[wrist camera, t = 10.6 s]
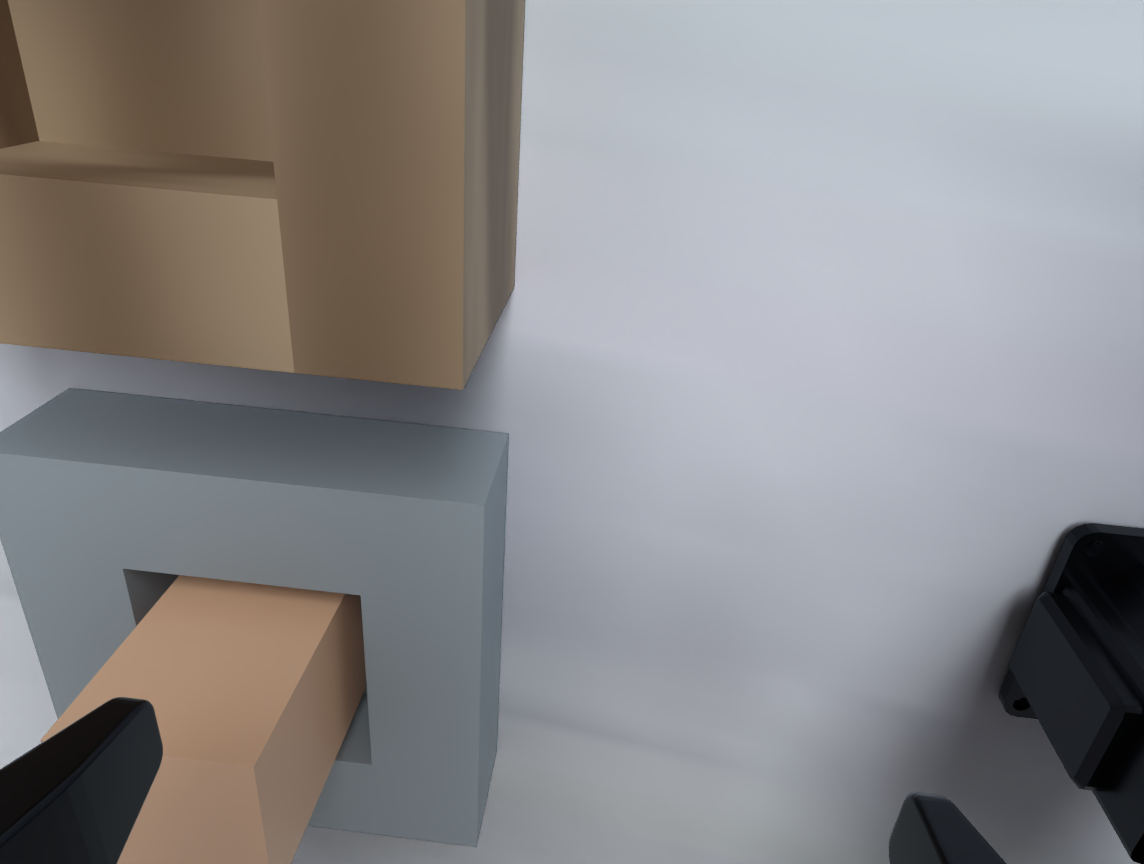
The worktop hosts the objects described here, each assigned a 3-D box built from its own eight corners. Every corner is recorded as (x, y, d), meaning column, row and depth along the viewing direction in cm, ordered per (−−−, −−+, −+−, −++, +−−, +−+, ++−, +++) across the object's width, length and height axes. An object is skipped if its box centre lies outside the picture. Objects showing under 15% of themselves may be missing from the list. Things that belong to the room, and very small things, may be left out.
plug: (364, 557, 22) (253, 767, 16) (370, 675, 24) (274, 901, 18) (209, 539, 22) (40, 740, 16) (228, 657, 24) (85, 875, 18)
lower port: (508, 433, 21) (484, 505, 18) (497, 750, 27) (476, 847, 24) (69, 387, 22) (-28, 450, 19) (147, 708, 27) (82, 797, 24)
